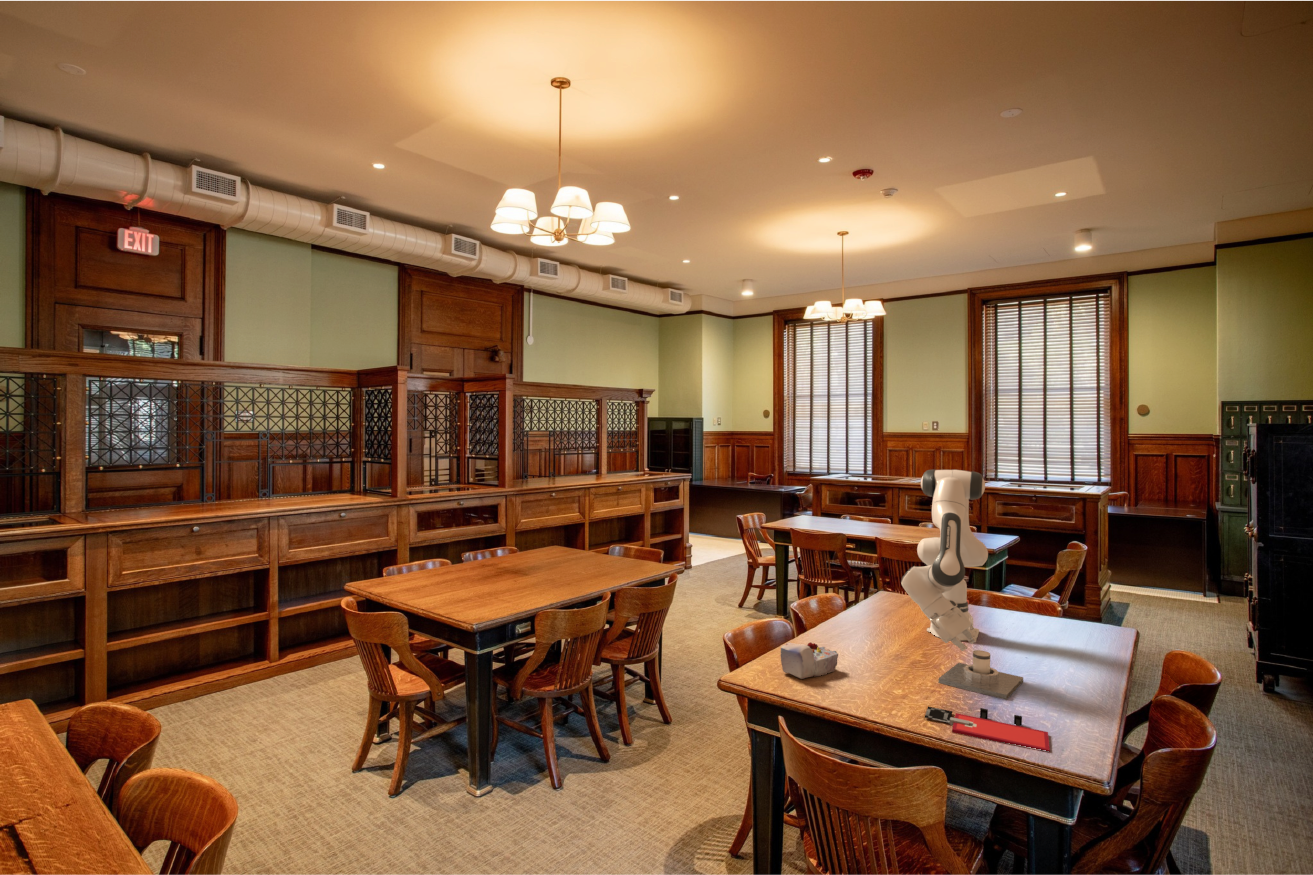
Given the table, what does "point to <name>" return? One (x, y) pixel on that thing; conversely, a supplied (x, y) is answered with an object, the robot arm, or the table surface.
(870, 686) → the table surface
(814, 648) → the cell model
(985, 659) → the banded peg cylinder
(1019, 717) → the red board with handle
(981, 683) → the ring mount
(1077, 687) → the table surface
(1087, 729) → the table surface
